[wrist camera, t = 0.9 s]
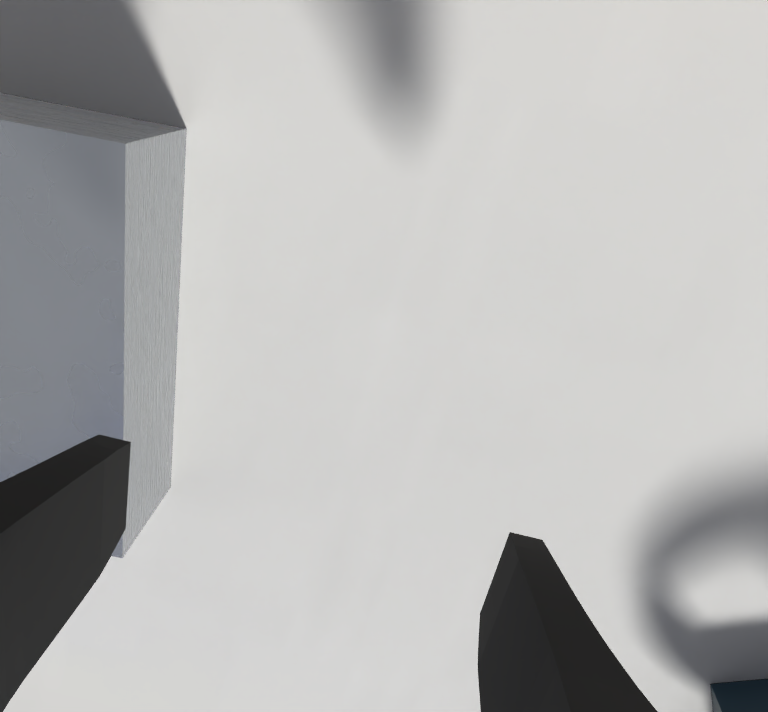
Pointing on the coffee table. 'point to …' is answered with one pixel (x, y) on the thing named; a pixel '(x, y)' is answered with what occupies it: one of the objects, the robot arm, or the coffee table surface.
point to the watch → (740, 696)
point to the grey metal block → (89, 289)
